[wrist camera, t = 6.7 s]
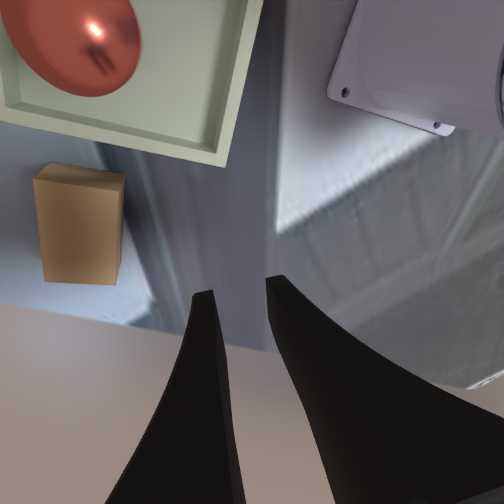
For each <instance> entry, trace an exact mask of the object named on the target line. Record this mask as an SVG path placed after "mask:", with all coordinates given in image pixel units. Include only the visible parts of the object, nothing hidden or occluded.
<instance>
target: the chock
mask: <svg viewBox="0 0 504 504" xmlns="http://www.w3.org/2000/svg"><path fill="white" fill-rule="evenodd" d="M32 181H33V189H34V197H35V206H36V214H37V222H38V230H39V239H40V247H41V255H42V264H43V272H44V280H45V282H58V283H78V284H97V285H116V281H117V276H118V272H119V268H120V263H121V251H122V228H123V204H124V181H125V174H120V173H115V172H109V171H103V170H97V169H91V168H85V167H79V166H73V165H67V164H61V163H55V162H50V163H49V164H48V165H47V166H46V167H45V168H43V169H42V170H41V171H40V172H39V173H38V174H37V175H36V176H35V177H34V178H33V179H32Z"/></svg>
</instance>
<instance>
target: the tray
mask: <svg viewBox="0 0 504 504" xmlns="http://www.w3.org/2000/svg"><path fill="white" fill-rule="evenodd" d="M130 2H131V3H132V5H133V7H134V10H135V12H136V14H137V17H138V21H139V24H140V28H141V34H142V40H143V49H142V54H141V59H140V63H139V66H138V68H137V70H136V72H135V74H134V75H133V77H132V78H131V79H130V80H129V81H128V82H127V83H126V84H125V85H124V86H122V87H121V88H119V89H118V90H116V91H114V92H113V93H110V94H108V95H104V96H100V97H82V96H77V95H73V94H70V93H67V92H65V91H62V90H60V89H58V88H56V87H54V86H53V85H51V84H49V83H48V82H47V81H45V80H44V79H42V78H41V77H40V76H39V75H38V74H36V73H35V72H34V71H33V70H32V69H31V68H30V67H29V66H28V65H27V64H26V62H25V61H24V60H23V59H22V57H21V56H20V55H19V53H18V52H17V50H16V49H15V47H14V46H13V44H12V42H11V40H10V38H9V37H8V34H7V32H6V30H5V27H4V24H3V21H2V18H1V14H0V121H2V122H7V123H12V124H17V125H22V126H26V127H31V128H36V129H41V130H46V131H50V132H55V133H60V134H65V135H70V136H75V137H79V138H84V139H89V140H94V141H99V142H103V143H108V144H113V145H118V146H123V147H128V148H132V149H137V150H142V151H147V152H152V153H156V154H161V155H166V156H171V157H176V158H181V159H185V160H190V161H195V162H200V163H205V164H209V165H214V166H219V167H224V168H225V166H226V162H227V157H228V153H229V149H230V144H231V140H232V136H233V131H234V127H235V123H236V118H237V114H238V109H239V105H240V101H241V96H242V92H243V88H244V83H245V79H246V75H247V70H248V66H249V61H250V57H251V53H252V48H253V44H254V40H255V35H256V31H257V27H258V22H259V18H260V13H261V9H262V5H263V0H130Z"/></svg>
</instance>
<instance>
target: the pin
mask: <svg viewBox="0 0 504 504" xmlns="http://www.w3.org/2000/svg"><path fill="white" fill-rule="evenodd" d="M0 14H1V18H2V21H3V24H4V27H5V30H6V32H7V34H8V37H9V38H10V40H11V42H12V44H13V46H14V47H15V49H16V50H17V52H18V53H19V55H20V56H21V57H22V59H23V60H24V61H25V62H26V64H27V65H28V66H29V67H30V68H31V69H32V70H33V71H34V72H35V73H36V74H38V75H39V76H40V77H41V78H42V79H44V80H45V81H47V82H48V83H49V84H51V85H53V86H54V87H56V88H58V89H60V90H62V91H65V92H67V93H70V94H73V95H77V96H82V97H100V96H104V95H108V94H110V93H113V92H114V91H116V90H118V89H119V88H121V87H122V86H124V85H125V84H126V83H127V82H128V81H129V80H130V79H131V78H132V77H133V75H134V74H135V72H136V70H137V68H138V66H139V63H140V59H141V54H142V49H143V40H142V34H141V28H140V24H139V21H138V17H137V14H136V12H135V10H134V7H133V5H132V3H131V2H130V0H0Z"/></svg>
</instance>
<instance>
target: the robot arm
mask: <svg viewBox="0 0 504 504" xmlns="http://www.w3.org/2000/svg"><path fill="white" fill-rule="evenodd" d="M344 88H346V90H347V91H346V94H345V96H343V97H342V96H341V92H342V90H343V89H344ZM327 95H328V97H329V98H330V99H332V100H336V101H339V102H342V103H345V104H348V105H351V106H354V107H357V108H360V109H363V110H366V111H369V112H372V113H375V114H378V115H381V116H384V117H387V118H390V119H393V120H396V121H399V122H402V123H405V124H408V125H411V126H414V127H418V128H421V129H424V130H427V131H430V132H433V133H436V134H439V135H442V136H447V135H449V134H451V133H452V131H453V130H454V128H455V127H458V128H462V129H466V130H469V131H473V132H477V133H481V134H485V135H489V136H492V137H496V138H500V139H504V0H358V3H357V5H356V8H355V11H354V14H353V17H352V20H351V22H350V25H349V28H348V31H347V34H346V36H345V39H344V42H343V45H342V48H341V50H340V53H339V56H338V59H337V62H336V64H335V67H334V70H333V73H332V76H331V79H330V81H329V84H328V87H327ZM435 122H436V125H435V126H434V123H435ZM265 279H266V293H267V307H268V319H269V322H270V326H271V329H272V332H273V335H274V339H275V342H276V345H277V347H278V349H279V352H280V354H281V356H282V359H283V361H284V363H285V365H286V368H287V369H288V372H289V375H290V377H291V379H292V381H293V384H294V386H295V388H296V390H297V393H298V395H299V397H300V400H301V402H302V404H303V407H304V409H305V412H306V415H307V417H308V420H309V423H310V426H311V429H312V432H313V435H314V438H315V441H316V444H317V447H318V450H319V453H320V456H321V459H322V463H323V466H324V468H325V472H326V475H327V478H328V481H329V484H330V488H331V491H332V494H333V497H334V500H335V503H336V504H504V418H502V417H500V416H498V415H496V414H493V413H491V412H489V411H487V410H484V409H482V408H480V407H478V406H475V405H473V404H471V403H468V402H466V401H464V400H462V399H460V398H458V397H456V396H454V395H452V394H450V393H448V392H446V391H444V390H442V389H440V388H438V387H436V386H434V385H432V384H430V383H428V382H427V381H425V380H423V379H421V378H420V377H418V376H416V375H414V374H412V373H411V372H409V371H407V370H405V369H403V368H402V367H400V366H398V365H396V364H395V363H393V362H391V361H390V360H388V359H387V358H385V357H383V356H382V355H380V354H379V353H377V352H376V351H374V350H373V349H371V348H370V347H368V346H367V345H365V344H364V343H362V342H361V341H359V340H358V339H357V338H355V337H354V336H352V335H351V334H350V333H348V332H347V331H346V330H344V329H343V328H342V327H341V326H339V325H338V324H337V323H335V322H334V321H333V320H332V319H331V318H329V317H328V316H327V315H326V314H325V313H323V312H322V311H321V310H320V309H319V308H318V307H316V306H315V305H314V304H313V303H312V302H311V301H310V300H309V299H307V298H306V297H305V296H304V295H303V294H302V293H301V292H300V291H299V290H298V289H297V288H296V287H295V286H294V285H293V284H292V283H291V282H290V281H289V280H288V279H287V278H286V277H285V276H284V275H278V276H273V277H268V278H265ZM105 504H246V500H245V495H244V489H243V483H242V477H241V472H240V466H239V460H238V454H237V449H236V443H235V437H234V430H233V422H232V411H231V401H230V390H229V380H228V368H227V357H226V352H225V346H224V341H223V336H222V331H221V326H220V321H219V317H218V312H217V307H216V303H215V298H214V293H213V290H208V291H203V292H199V293H195V294H194V295H193V296H192V304H191V310H190V315H189V319H188V324H187V328H186V331H185V335H184V338H183V341H182V345H181V348H180V351H179V354H178V357H177V359H176V362H175V365H174V368H173V371H172V373H171V376H170V378H169V381H168V383H167V386H166V389H165V390H164V393H163V395H162V397H161V400H160V402H159V404H158V406H157V408H156V411H155V413H154V415H153V417H152V419H151V421H150V423H149V425H148V427H147V429H146V431H145V433H144V435H143V437H142V439H141V441H140V442H139V444H138V446H137V448H136V450H135V452H134V454H133V456H132V457H131V459H130V461H129V462H128V464H127V466H126V468H125V469H124V471H123V473H122V475H121V477H120V478H119V480H118V482H117V483H116V485H115V487H114V489H113V490H112V492H111V494H110V495H109V497H108V499H107V500H106V502H105Z"/></svg>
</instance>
